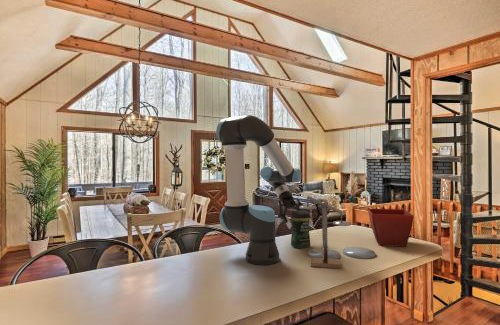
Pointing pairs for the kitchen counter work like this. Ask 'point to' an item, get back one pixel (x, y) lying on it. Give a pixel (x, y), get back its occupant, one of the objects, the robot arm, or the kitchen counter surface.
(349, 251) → the right dish
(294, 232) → the coffee jar
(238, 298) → the kitchen counter surface
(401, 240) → the plant pot
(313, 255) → the left dish
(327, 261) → the balance
